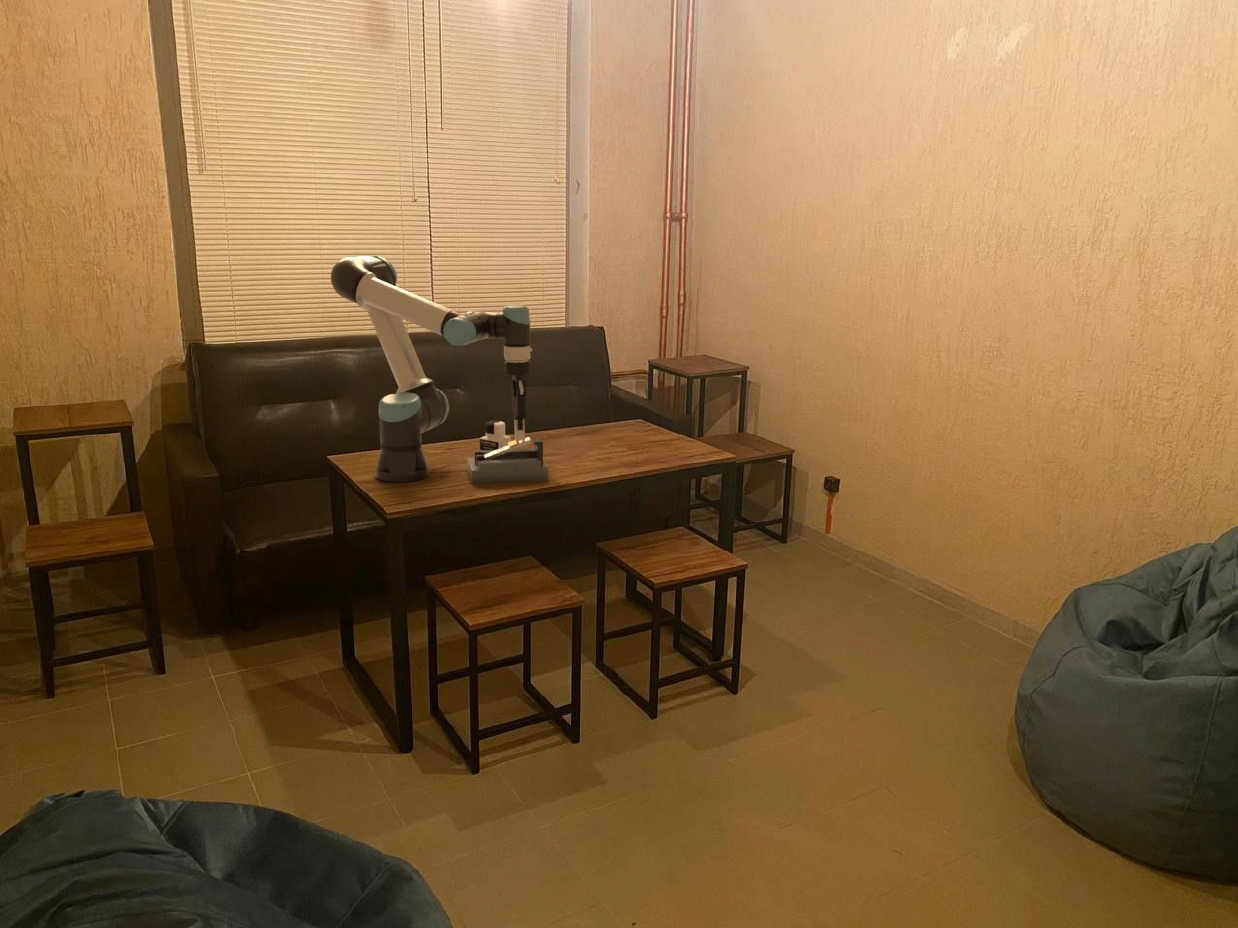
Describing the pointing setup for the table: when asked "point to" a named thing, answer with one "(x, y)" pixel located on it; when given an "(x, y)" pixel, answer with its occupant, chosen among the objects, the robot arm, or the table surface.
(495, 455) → the strap
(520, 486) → the table surface
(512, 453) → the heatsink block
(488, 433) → the medicine bottle
